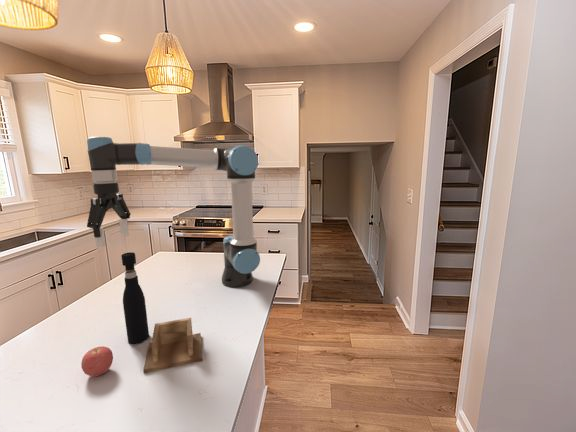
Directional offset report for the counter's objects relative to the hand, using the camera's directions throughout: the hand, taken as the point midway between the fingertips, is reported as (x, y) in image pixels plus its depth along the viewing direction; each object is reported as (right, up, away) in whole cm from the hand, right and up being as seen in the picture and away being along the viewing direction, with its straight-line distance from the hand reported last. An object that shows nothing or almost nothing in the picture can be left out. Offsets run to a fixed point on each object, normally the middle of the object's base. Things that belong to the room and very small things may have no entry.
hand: (113, 240), depth 106 cm
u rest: (+29, -34, -16) cm, 47 cm away
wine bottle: (+13, -33, -8) cm, 36 cm away
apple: (+10, -36, -24) cm, 44 cm away
